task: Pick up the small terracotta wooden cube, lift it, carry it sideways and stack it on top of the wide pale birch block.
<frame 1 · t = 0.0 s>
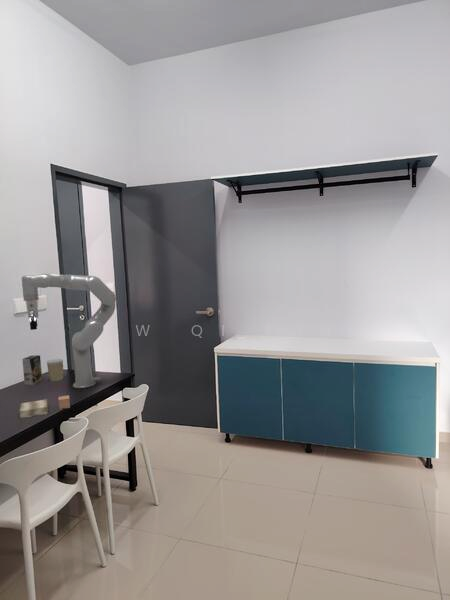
hand: (34, 328, 237), 37 cm above the table, tool pointing down, fingers open, 9 cm apart
terracotta cube: (64, 407, 215), on the table
coffee box: (33, 383, 260), on the table
coffee cup: (56, 379, 265), on the table
birch block: (34, 412, 210), on the table
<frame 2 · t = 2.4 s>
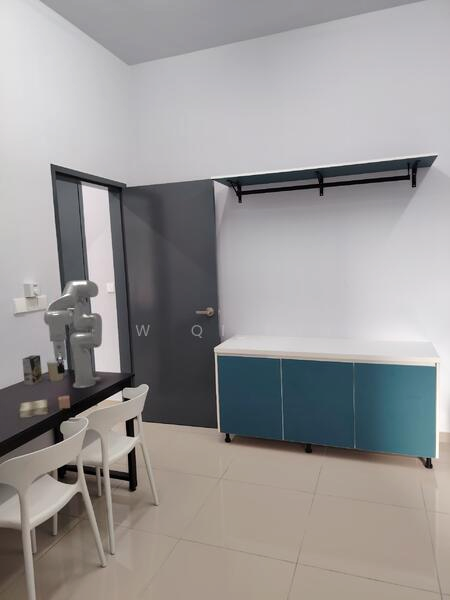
hand: (61, 371, 213), 19 cm above the table, tool pointing down, fingers open, 9 cm apart
nothing on the table moved.
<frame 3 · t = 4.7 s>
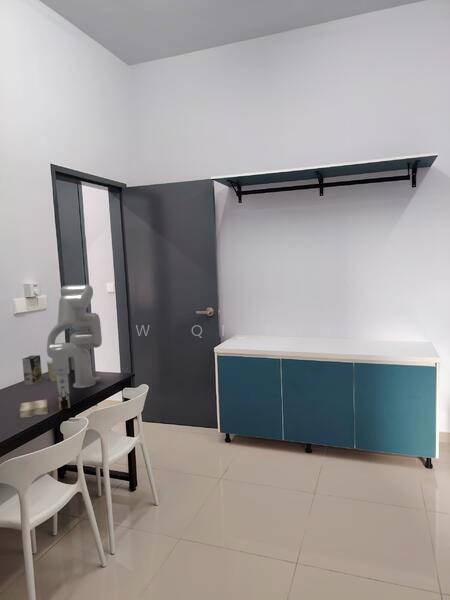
hand: (64, 405, 215), 1 cm above the table, tool pointing down, fingers closed on terracotta cube, 5 cm apart
terracotta cube: (64, 406, 215), on the table, touching gripper
everything else where it was.
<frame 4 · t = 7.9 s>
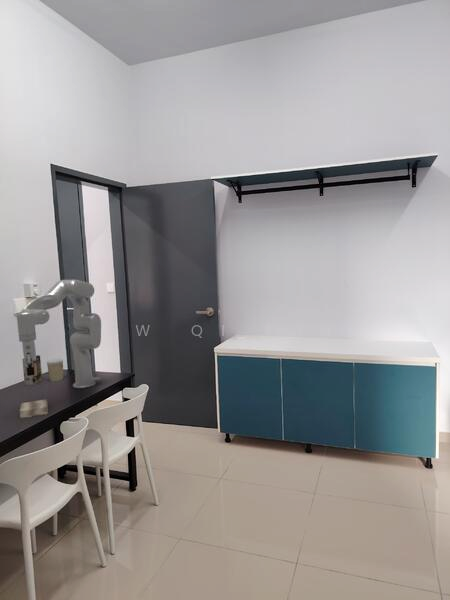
hand: (31, 373, 208), 20 cm above the table, tool pointing down, fingers closed on terracotta cube, 5 cm apart
terracotta cube: (31, 374, 208), point 19 cm above the table, touching gripper
everything else where it was.
when the fingers open (6 cm above the table, at t = 10.9 s): terracotta cube drops 2 cm, resting on birch block.
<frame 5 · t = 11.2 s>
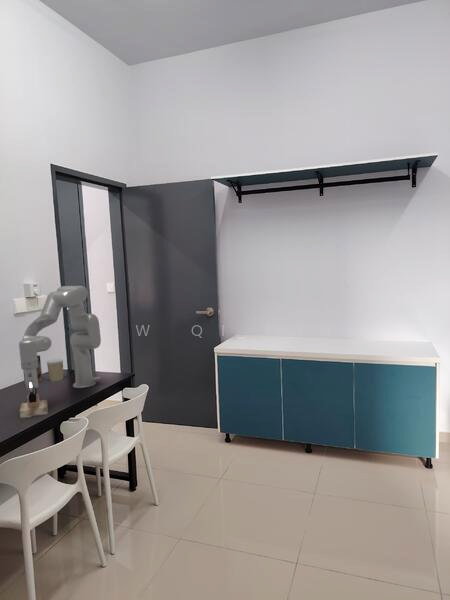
hand: (33, 399, 209), 7 cm above the table, tool pointing down, fingers open, 8 cm apart
terracotta cube: (33, 405, 210), point 3 cm above the table, touching birch block
birch block: (34, 413, 210), on the table, touching terracotta cube
everything else where it was.
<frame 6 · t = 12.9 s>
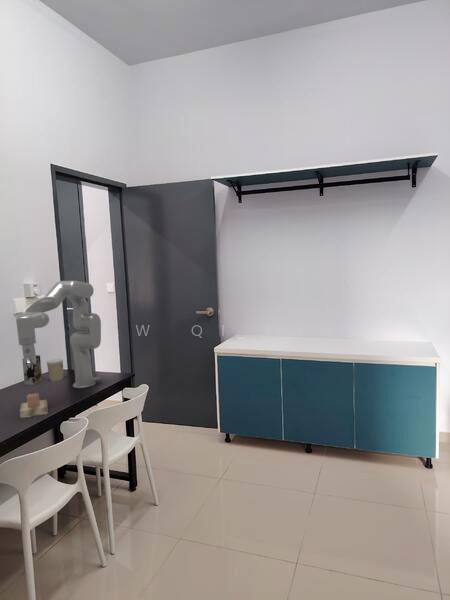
hand: (31, 374, 208), 19 cm above the table, tool pointing down, fingers open, 9 cm apart
terracotta cube: (33, 405, 210), point 3 cm above the table
birch block: (34, 412, 210), on the table
everything else where it was.
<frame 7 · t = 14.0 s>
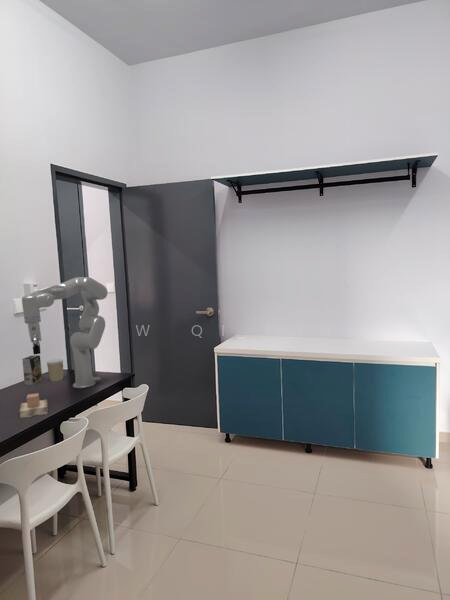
hand: (37, 351, 220), 27 cm above the table, tool pointing down, fingers open, 9 cm apart
terracotta cube: (33, 405, 210), point 3 cm above the table, touching birch block
birch block: (34, 412, 210), on the table, touching terracotta cube
everything else where it was.
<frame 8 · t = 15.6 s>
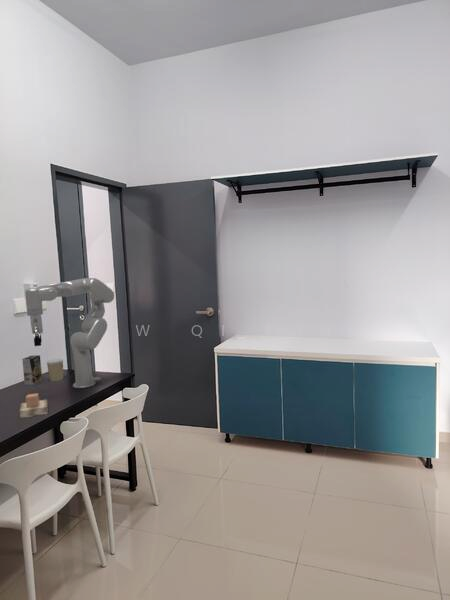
hand: (38, 344, 225), 30 cm above the table, tool pointing down, fingers open, 9 cm apart
terracotta cube: (33, 405, 210), point 4 cm above the table
birch block: (34, 412, 210), on the table
everything else where it was.
at the end: terracotta cube 0.3 cm off-centre on the birch block, point 4.0 cm above the birch block's base; terracotta cube tilted 0°; the gripper is holding nothing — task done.
